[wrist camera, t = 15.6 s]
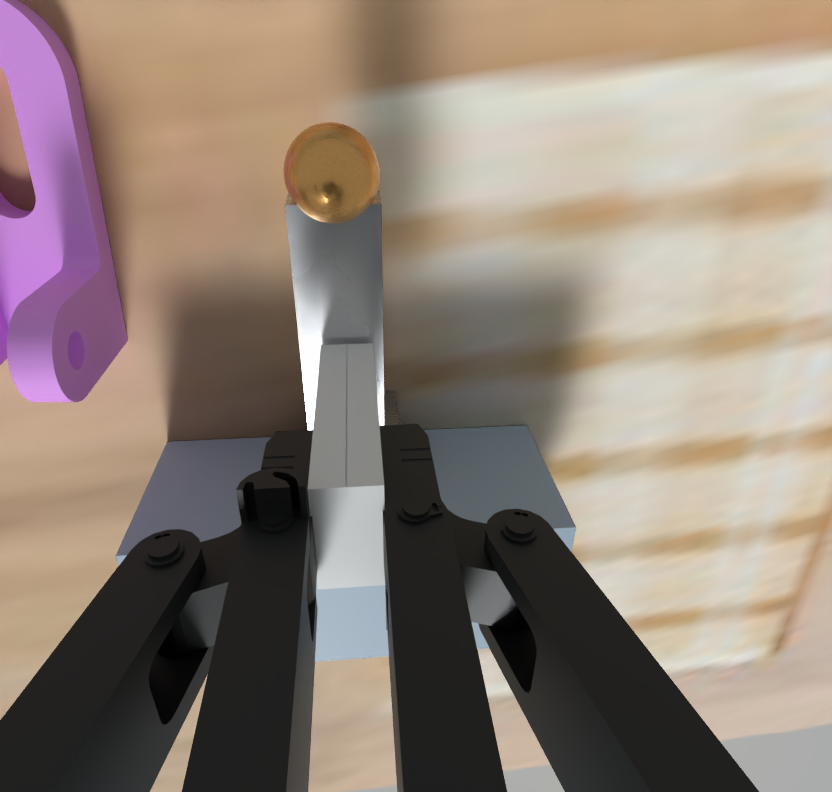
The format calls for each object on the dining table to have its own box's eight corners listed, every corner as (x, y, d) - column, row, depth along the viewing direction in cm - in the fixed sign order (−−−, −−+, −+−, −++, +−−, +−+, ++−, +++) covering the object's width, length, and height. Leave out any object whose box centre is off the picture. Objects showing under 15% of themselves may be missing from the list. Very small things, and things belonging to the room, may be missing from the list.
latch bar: (322, 524, 24) (320, 574, 22) (282, 113, 16) (274, 134, 14) (383, 521, 24) (387, 569, 22) (376, 114, 16) (381, 133, 14)
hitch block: (191, 548, 33) (152, 674, 27) (167, 441, 30) (115, 556, 23) (514, 528, 35) (555, 642, 28) (526, 425, 32) (576, 527, 25)
